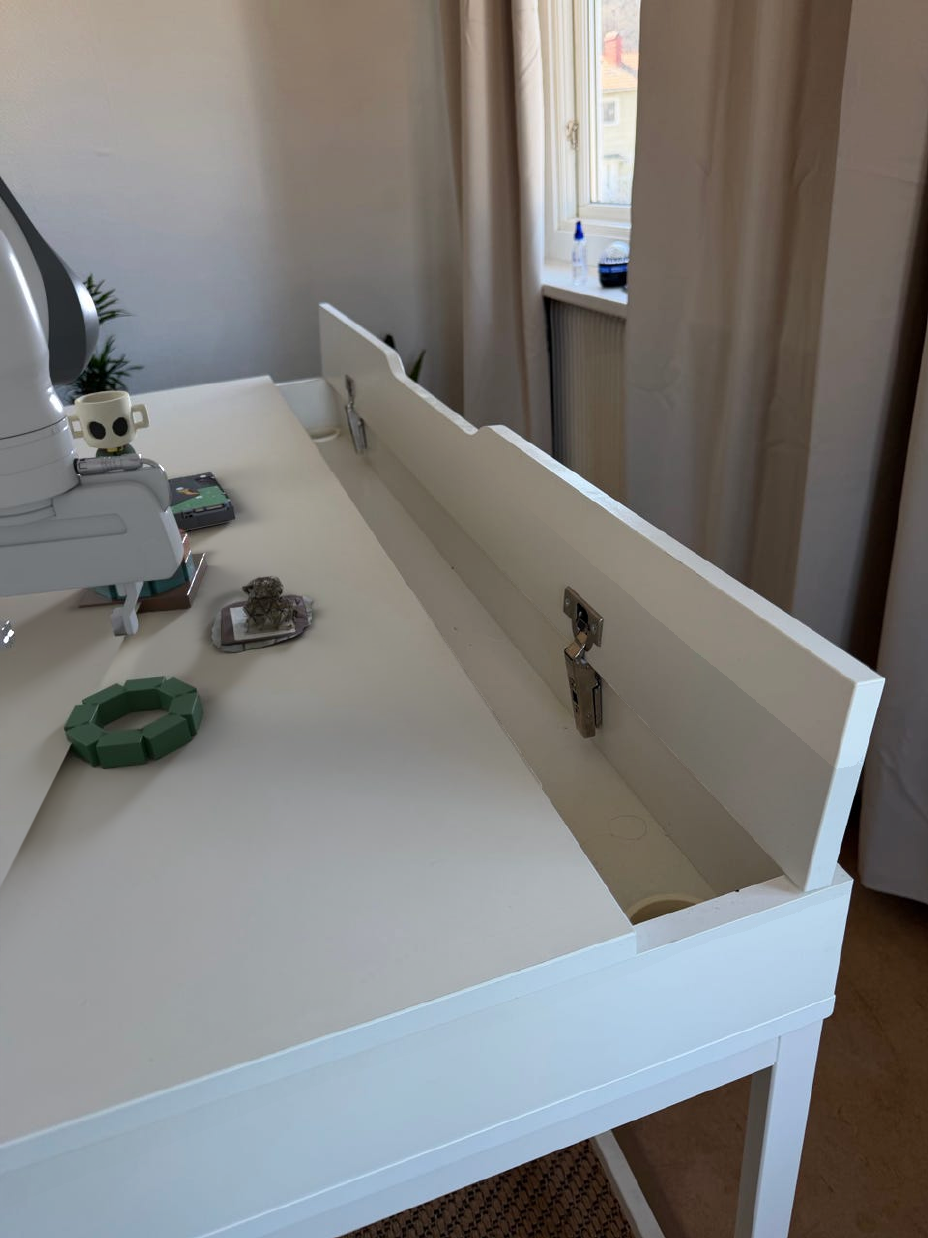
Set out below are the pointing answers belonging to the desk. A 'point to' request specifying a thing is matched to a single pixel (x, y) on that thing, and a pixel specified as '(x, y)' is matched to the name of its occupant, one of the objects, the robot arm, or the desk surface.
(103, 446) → the character mug
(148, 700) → the green ring
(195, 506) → the disk drive
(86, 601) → the ring stack
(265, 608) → the figurine on base
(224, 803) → the desk surface
